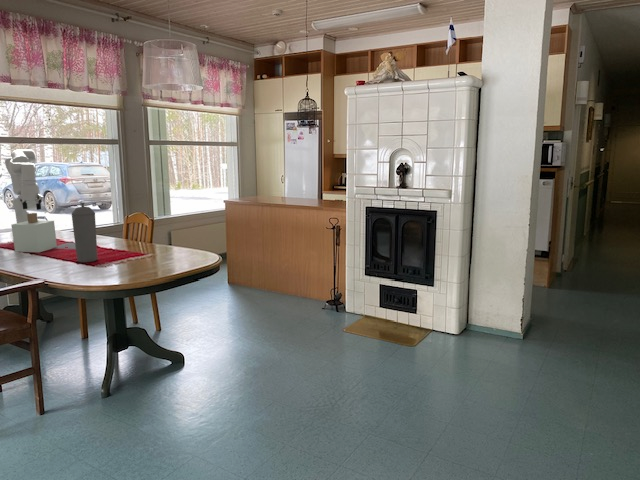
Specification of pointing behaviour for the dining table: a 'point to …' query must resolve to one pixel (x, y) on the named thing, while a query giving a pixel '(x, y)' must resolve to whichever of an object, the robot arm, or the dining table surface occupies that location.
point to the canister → (85, 233)
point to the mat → (69, 245)
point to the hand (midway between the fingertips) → (32, 209)
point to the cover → (34, 235)
